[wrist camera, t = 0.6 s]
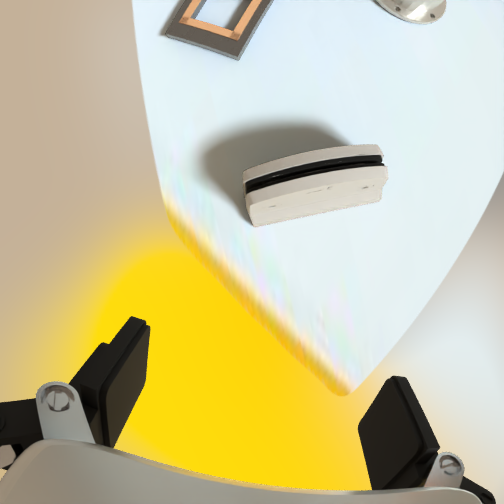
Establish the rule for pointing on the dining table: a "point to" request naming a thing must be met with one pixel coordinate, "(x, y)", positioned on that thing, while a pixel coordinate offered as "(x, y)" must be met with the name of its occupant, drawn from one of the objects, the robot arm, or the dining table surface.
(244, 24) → the grey flat holed plate
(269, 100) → the dining table surface
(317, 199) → the grey slotted arched block
